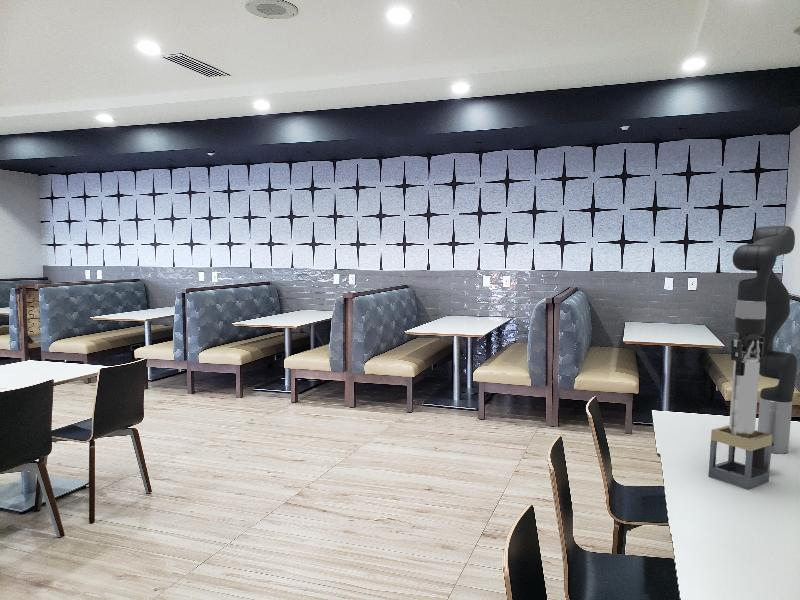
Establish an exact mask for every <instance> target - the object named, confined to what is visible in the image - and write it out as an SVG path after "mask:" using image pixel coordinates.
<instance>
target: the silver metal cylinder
mask: <svg viewBox="0 0 800 600" xmlns="http://www.w3.org/2000/svg"><path fill="white" fill-rule="evenodd" d="M742 357H743V355H742ZM732 369H733V371H732V383H731V397H730V398H731V399H730V409H729V410H730V412H729V425H728V426H729V433H730V434H734V435H737V436H741V437H745V438H748V439H750V438H754V436H755V430H756V422H757V421H756V420H757V407H758V393H759V380H760V374H759V369H760V362H759V361H758V359H757V358H753V357H749V356H747V357H746V360H745V371H744V376H739V375H736V374H735V369H736V362H735V361H734V360H733V368H732Z"/></svg>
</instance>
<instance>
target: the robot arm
mask: <svg viewBox="0 0 800 600" xmlns="http://www.w3.org/2000/svg"><path fill="white" fill-rule="evenodd" d="M752 241H753V243H747V244H742V245H740V246H738V247H737V248H736V249H735V251H734V252H733V253H732V254H733V255H732V264H733V266H734V267H735V269H737V270H739V271H749V272H756V273H755V274H756V276H755V277H754V278H746V279H745V278H744V279H741V280H740V281H739V282H738V287H737V298H736V306H735V314H734V325H733V327H734V329H733V331H734V332H735V333H738V337H737V339H731V341H730V342H731V343H730V345H731V346H730V349H731V350H730V360H731V361H733V362H734V361H735V362H736V369H735V374H736V375H739V376H744V371H745V360H746V357H753V358H757V359H758V361H759V362H760V369H759V376H761V377H763V378H770V379H773V380H774V379H775V380H778V384H777V385H775V386H770V387H769V386H768V387H764V388H762V389H760V392H759V393H760V394H759V397H760V398H759V406H758V407H759V409H758V418H757V419H758V422H757V423H758V425H757V431H761V432H764V433H768V434H772V442H773V443H774V446H772V450H771V454H772V453H774V454H787V453H788V452H789V445H790V436H791V435H790V434H791V425H792V423H791V421H792V408H793V398H794V393H795V388H796V387H795V386H796V380H797V373H798V359H797V356H796V355H795V354H794V353H790V352H784V351H778V350H774V348H773V346H774V345H773V344H774V339H775V336H776V335H777V333H778V332H779V330H780V329H781V328H783V327H782V326H783V325H784V324H785V323H786V321H787V320H788V318H789V316H790V314H791V306H790V305H791V299H790V293H789V291H788V289H787V287H786V286H785V285H784V283H783V282H782V280H780V278H779V277H778V276H777V275H776V273H775V272H774V270H773V269H774V268H775V265H776V261H777V257H780V256H782V255H788V254H791V252H793V250H794V248H795V244H796V236H795V231H794V229H793V228H792V227H791V226H788V225H773V226H772V225H771V226H758V227H756V228H755V230H754V232H753V240H752ZM742 356H743V357H742Z"/></svg>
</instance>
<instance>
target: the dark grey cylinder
mask: <svg viewBox="0 0 800 600" xmlns="http://www.w3.org/2000/svg"><path fill="white" fill-rule="evenodd" d="M772 446H774V443H773V442H772ZM771 450H772V447H771ZM764 453H765V447H763V448H759V449H756V450H753V458H752V467H755V468H759V469H762V470H763V466H764Z"/></svg>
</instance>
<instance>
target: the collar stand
mask: <svg viewBox="0 0 800 600" xmlns="http://www.w3.org/2000/svg"><path fill="white" fill-rule="evenodd" d="M718 443H720V444H724V445H728V456H727V460H726V461H723V462H719V463H716V462H717V447H718ZM709 447H710V449H709V461H708V462H709V463H708V464H709V465H708V477H709V478H713V479H715V480H718V481H721V482H724V483H727V484H729V483H730V485H733V486H736V487H739V488H741V489H744V490H751V489H754V488H757V487H758V486H761V485H764V484H767V483H769V482H770V471H771V459H772V452H771V447H772V434H768V433H764V432H761V431H758V429H755V436H754V438H750V439H748V438H745V437H741V436H737V435H734V434H730V433H729V425H725V426H721V427H718V428H713V429H711V432H710V446H709ZM763 447H765V453H764V466H763V470H762V469H759V468H755V467H752V458H753V450H756V449H759V448H763ZM736 448H738V449H741V450H745V460H744V461H745V463H741V462H739V461H735V454H736ZM731 471H732V472H731Z"/></svg>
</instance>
